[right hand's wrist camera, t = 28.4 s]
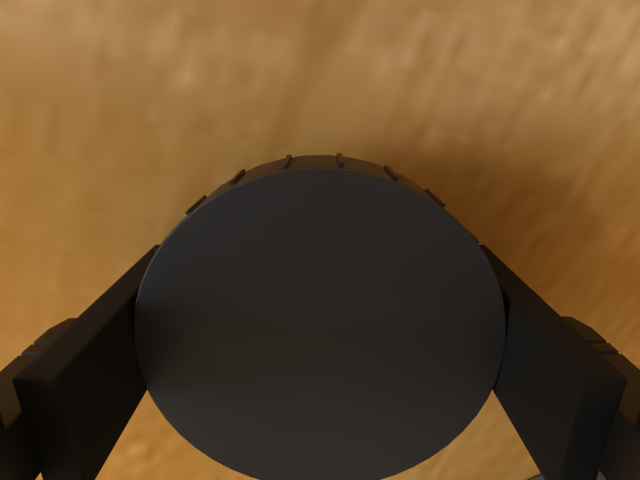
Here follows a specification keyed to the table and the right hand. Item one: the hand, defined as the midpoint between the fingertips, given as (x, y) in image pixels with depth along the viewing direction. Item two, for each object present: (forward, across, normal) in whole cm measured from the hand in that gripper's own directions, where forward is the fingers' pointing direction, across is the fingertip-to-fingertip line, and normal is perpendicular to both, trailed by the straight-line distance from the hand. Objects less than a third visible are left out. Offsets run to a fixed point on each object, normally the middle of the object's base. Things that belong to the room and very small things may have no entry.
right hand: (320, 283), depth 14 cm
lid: (-3, 0, 0) cm, 3 cm away
